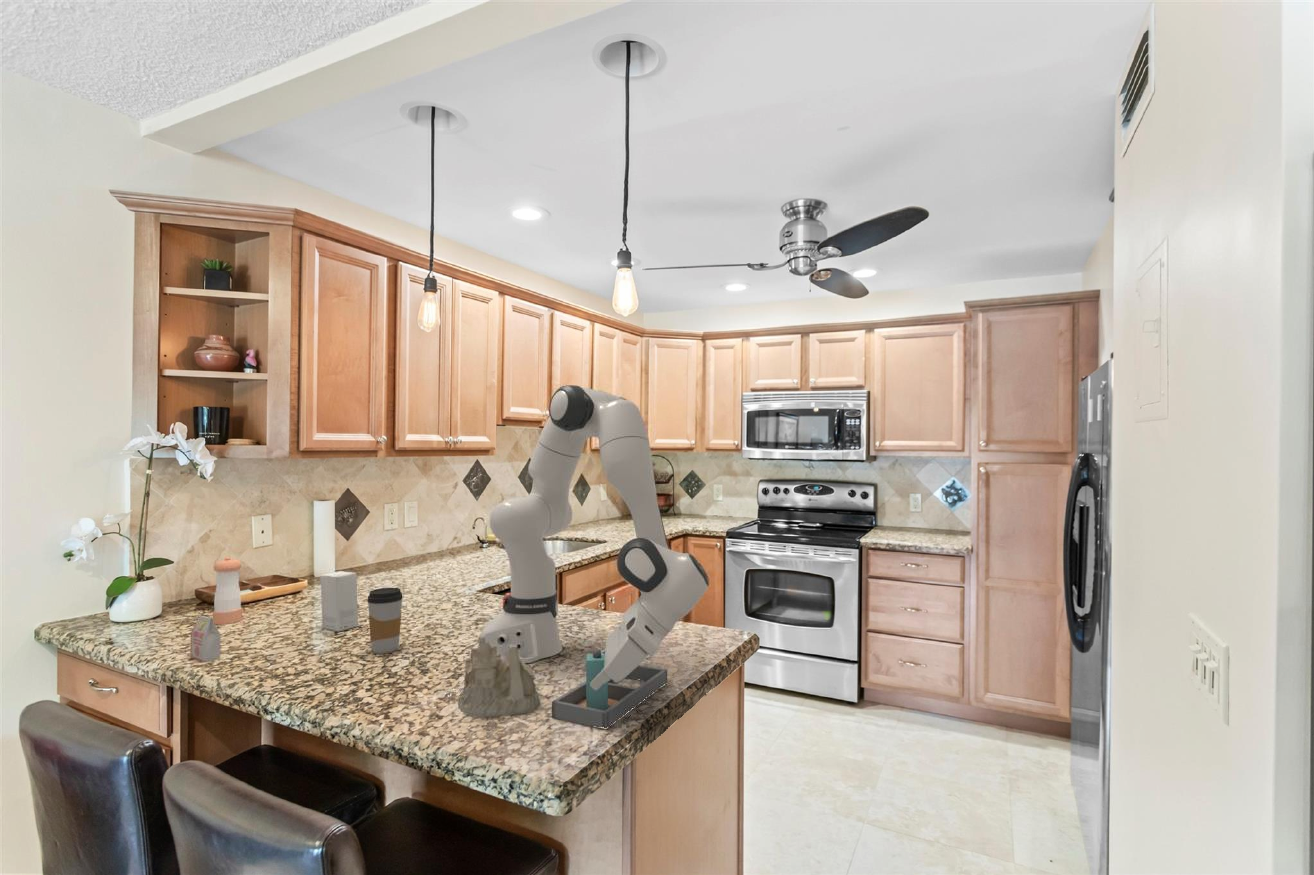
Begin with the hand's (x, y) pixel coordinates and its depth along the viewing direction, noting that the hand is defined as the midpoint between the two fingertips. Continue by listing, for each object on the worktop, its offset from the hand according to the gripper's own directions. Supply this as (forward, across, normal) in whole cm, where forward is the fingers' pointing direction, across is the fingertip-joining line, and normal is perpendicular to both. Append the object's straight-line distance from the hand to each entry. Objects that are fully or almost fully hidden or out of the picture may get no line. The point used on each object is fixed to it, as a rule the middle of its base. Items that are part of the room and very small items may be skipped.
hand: (593, 677), depth 123 cm
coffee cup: (+44, -42, -34) cm, 69 cm away
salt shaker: (+84, -74, -75) cm, 135 cm away
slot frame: (+2, -5, +7) cm, 9 cm away
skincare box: (+58, -64, -49) cm, 99 cm away
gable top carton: (+74, -39, -64) cm, 105 cm away
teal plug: (+4, 0, +5) cm, 6 cm away
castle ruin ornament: (+18, -6, -9) cm, 21 cm away
